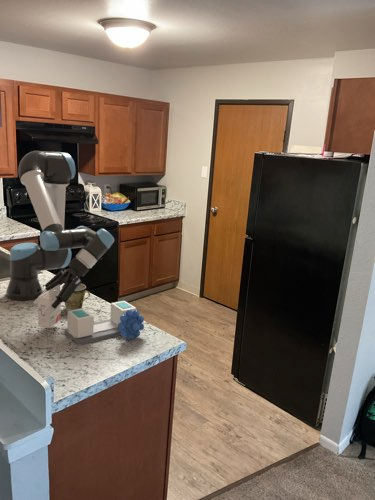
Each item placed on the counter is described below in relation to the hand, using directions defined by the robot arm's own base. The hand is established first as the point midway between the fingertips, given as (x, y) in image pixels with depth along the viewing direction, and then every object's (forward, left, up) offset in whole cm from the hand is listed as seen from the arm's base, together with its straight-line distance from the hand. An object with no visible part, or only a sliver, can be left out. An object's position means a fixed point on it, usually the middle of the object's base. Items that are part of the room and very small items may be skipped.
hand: (40, 309), depth 156 cm
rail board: (+12, +19, -9) cm, 24 cm away
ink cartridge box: (0, +3, -7) cm, 7 cm away
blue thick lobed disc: (+24, +25, -9) cm, 36 cm away
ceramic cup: (-13, +20, -9) cm, 26 cm away
